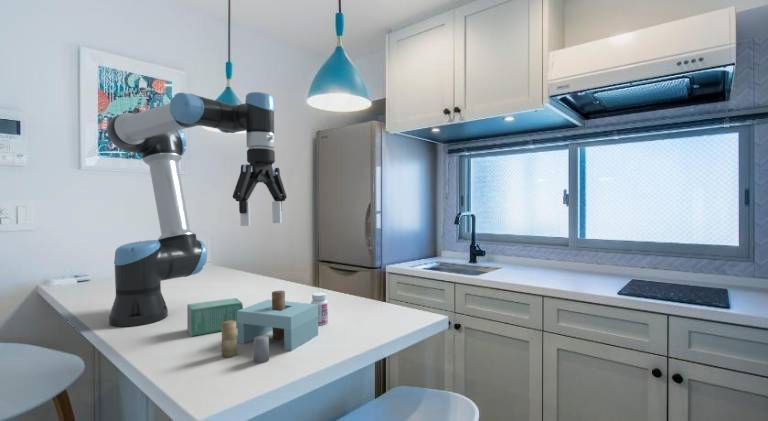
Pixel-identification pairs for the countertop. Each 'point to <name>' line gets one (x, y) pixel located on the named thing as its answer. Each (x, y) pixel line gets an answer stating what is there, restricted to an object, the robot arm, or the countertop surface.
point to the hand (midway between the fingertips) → (262, 224)
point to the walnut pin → (278, 305)
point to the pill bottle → (321, 307)
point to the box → (211, 315)
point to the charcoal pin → (261, 349)
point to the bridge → (279, 322)
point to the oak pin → (229, 339)
